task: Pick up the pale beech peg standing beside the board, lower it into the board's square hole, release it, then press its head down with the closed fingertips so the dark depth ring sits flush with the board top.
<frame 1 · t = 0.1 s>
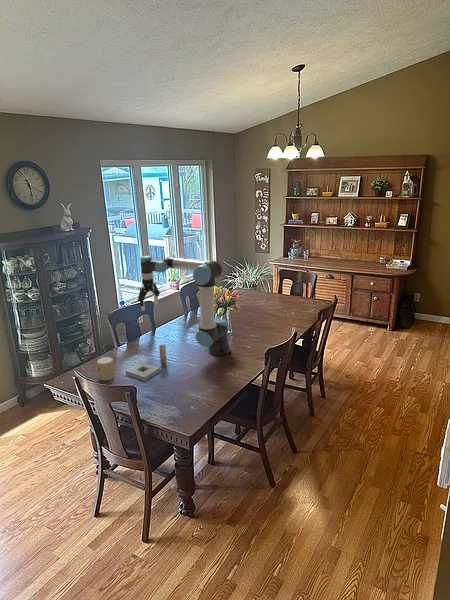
hand: (149, 307, 287), 28 cm above the table, fingers open, 13 cm apart
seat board: (143, 372, 254), on the table
coffee cup: (107, 378, 249), on the table
beech peg: (163, 365, 263), on the table
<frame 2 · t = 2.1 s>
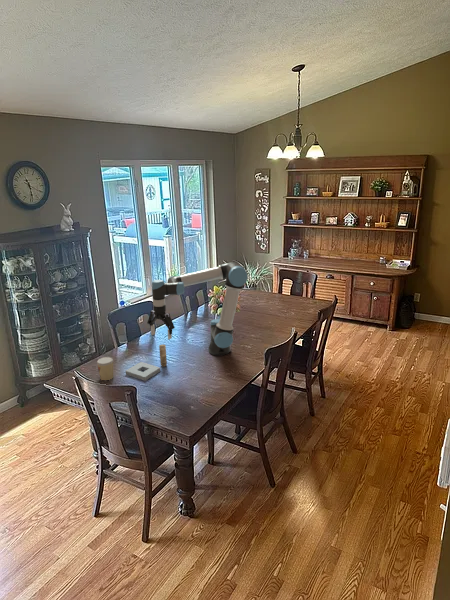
hand: (161, 336, 256), 20 cm above the table, fingers open, 13 cm apart
nothing on the table moved.
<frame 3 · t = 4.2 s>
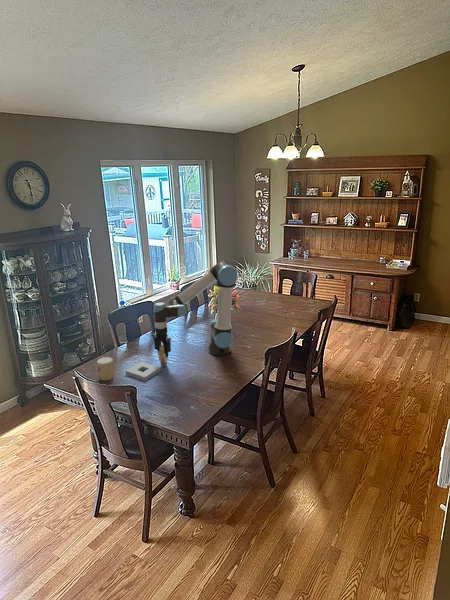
hand: (163, 360, 262), 4 cm above the table, fingers closed on beech peg, 4 cm apart
beech peg: (163, 365, 263), on the table, touching gripper
everything else where it was.
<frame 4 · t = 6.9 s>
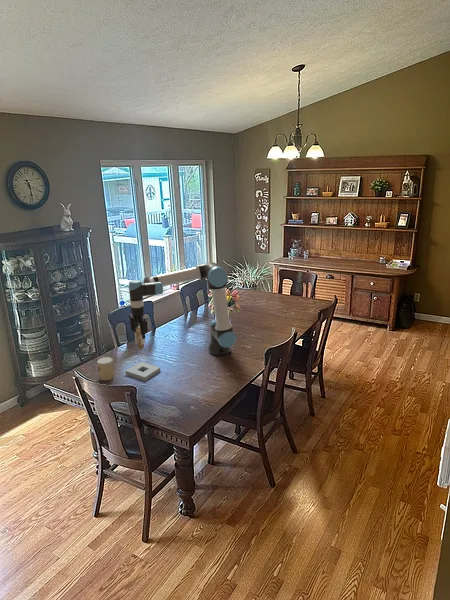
hand: (140, 342, 247), 21 cm above the table, fingers closed on beech peg, 4 cm apart
beech peg: (140, 348, 249), point 17 cm above the table, touching gripper
everything else where it was.
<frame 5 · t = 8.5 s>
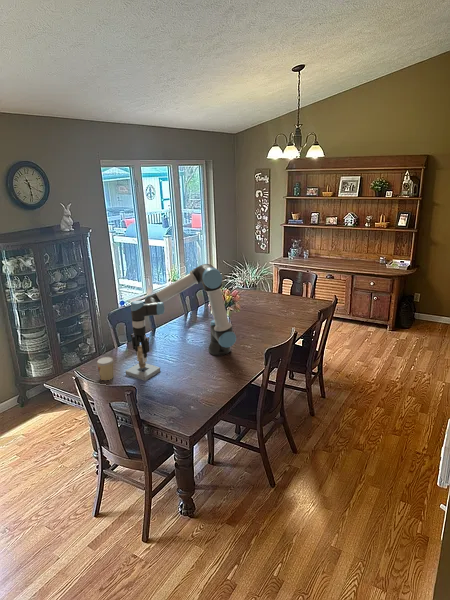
hand: (142, 361, 251), 8 cm above the table, fingers closed on beech peg, 4 cm apart
beech peg: (142, 367, 253), point 4 cm above the table, touching gripper
everything else where it was.
when the fingers open (4 cm above the table, at t = 9.4 s): beech peg stays where it is, resting in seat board.
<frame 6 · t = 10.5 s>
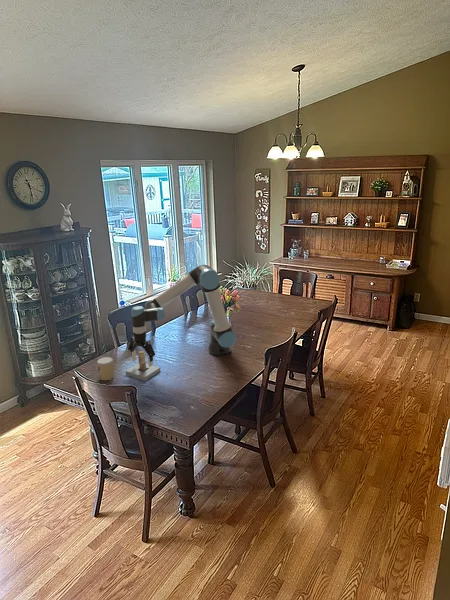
hand: (142, 363, 252), 7 cm above the table, fingers open, 13 cm apart
beech peg: (143, 372, 254), resting in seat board
everything else where it was.
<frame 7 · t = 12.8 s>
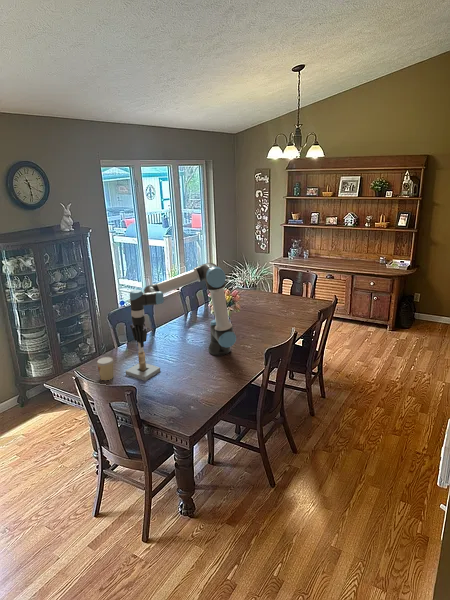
hand: (141, 351, 249), 15 cm above the table, fingers closed
nothing on the table moved.
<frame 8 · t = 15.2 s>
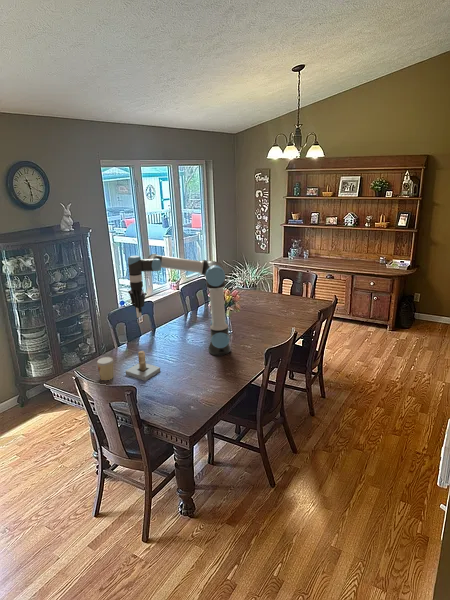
hand: (139, 316, 256), 32 cm above the table, fingers closed
nothing on the table moved.
at the end: beech peg 0.0 cm off-centre on the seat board, point 0.0 cm above the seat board's base; beech peg tilted 0°; the gripper is holding nothing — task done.
